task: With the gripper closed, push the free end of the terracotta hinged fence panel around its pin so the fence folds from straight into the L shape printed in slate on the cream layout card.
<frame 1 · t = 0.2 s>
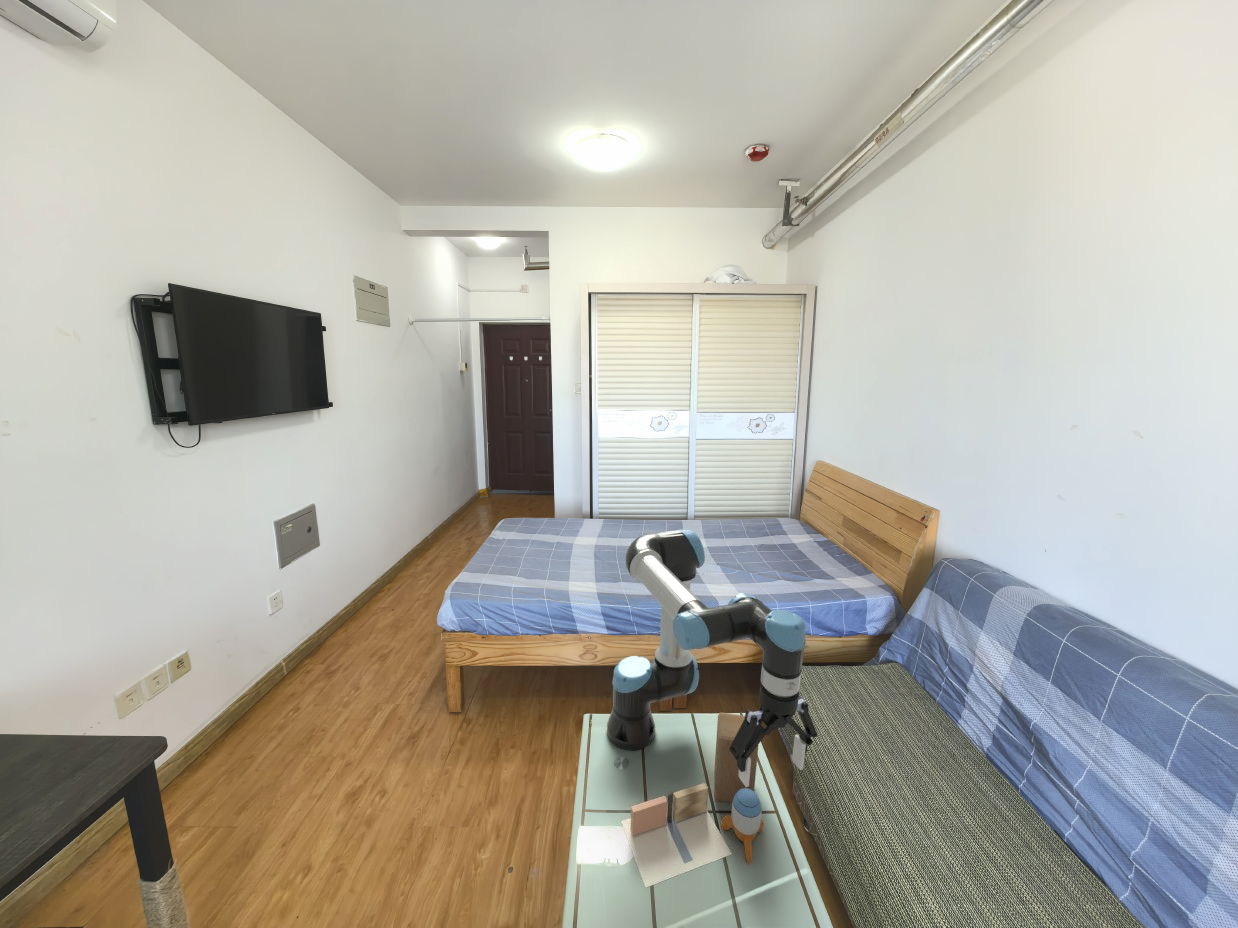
hand: (771, 772, 99), 28 cm above the table, fingers open, 13 cm apart
layout card: (674, 838, 112), on the table
wooden block: (732, 790, 126), on the table
fixed fence panel: (669, 822, 116), resting on layout card
hinged fence panel: (648, 815, 114), point 4 cm above the table, hinge at 0.0°
toy rocket: (748, 840, 113), on the table
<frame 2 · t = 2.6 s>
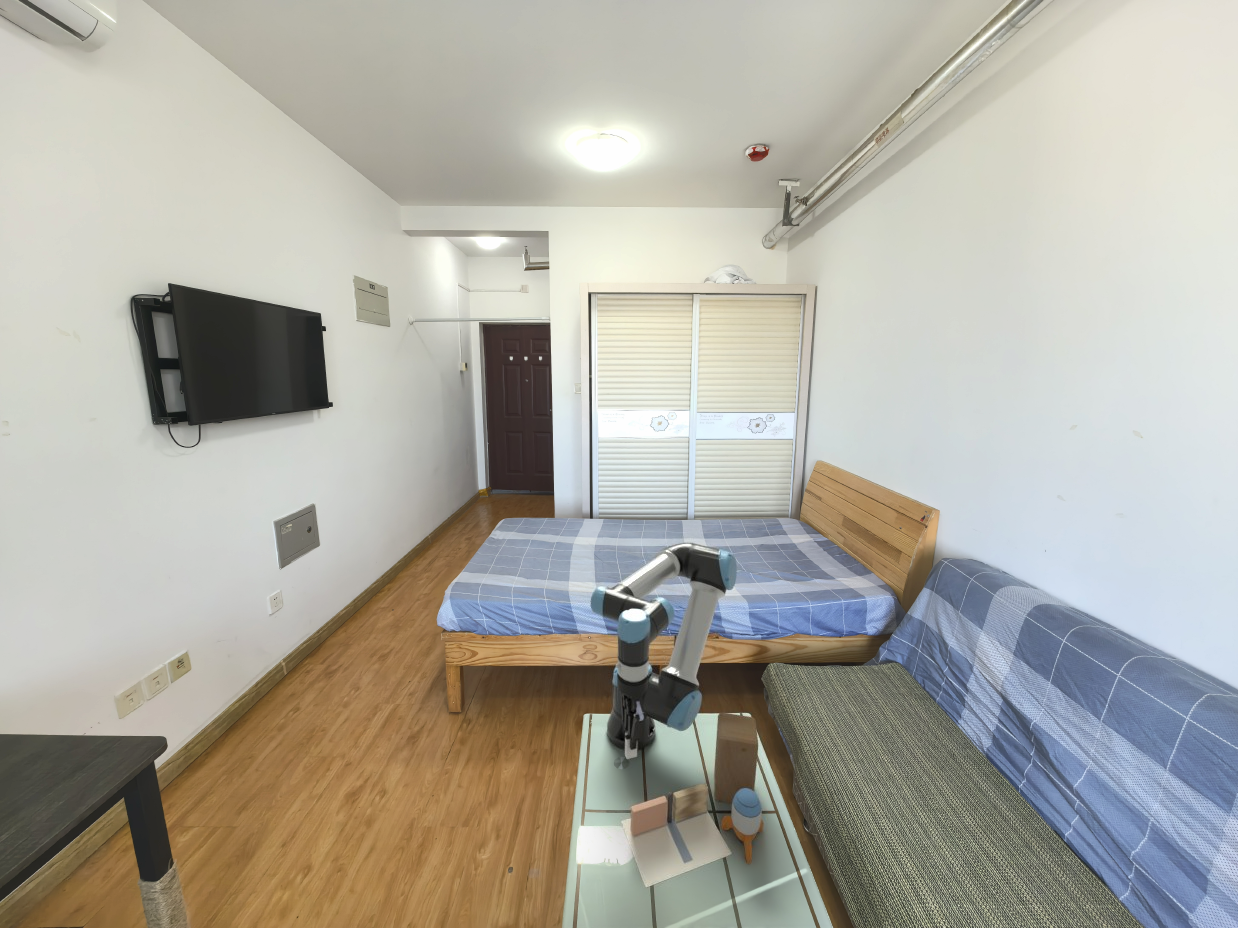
hand: (630, 755, 117), 16 cm above the table, fingers closed
nothing on the table moved.
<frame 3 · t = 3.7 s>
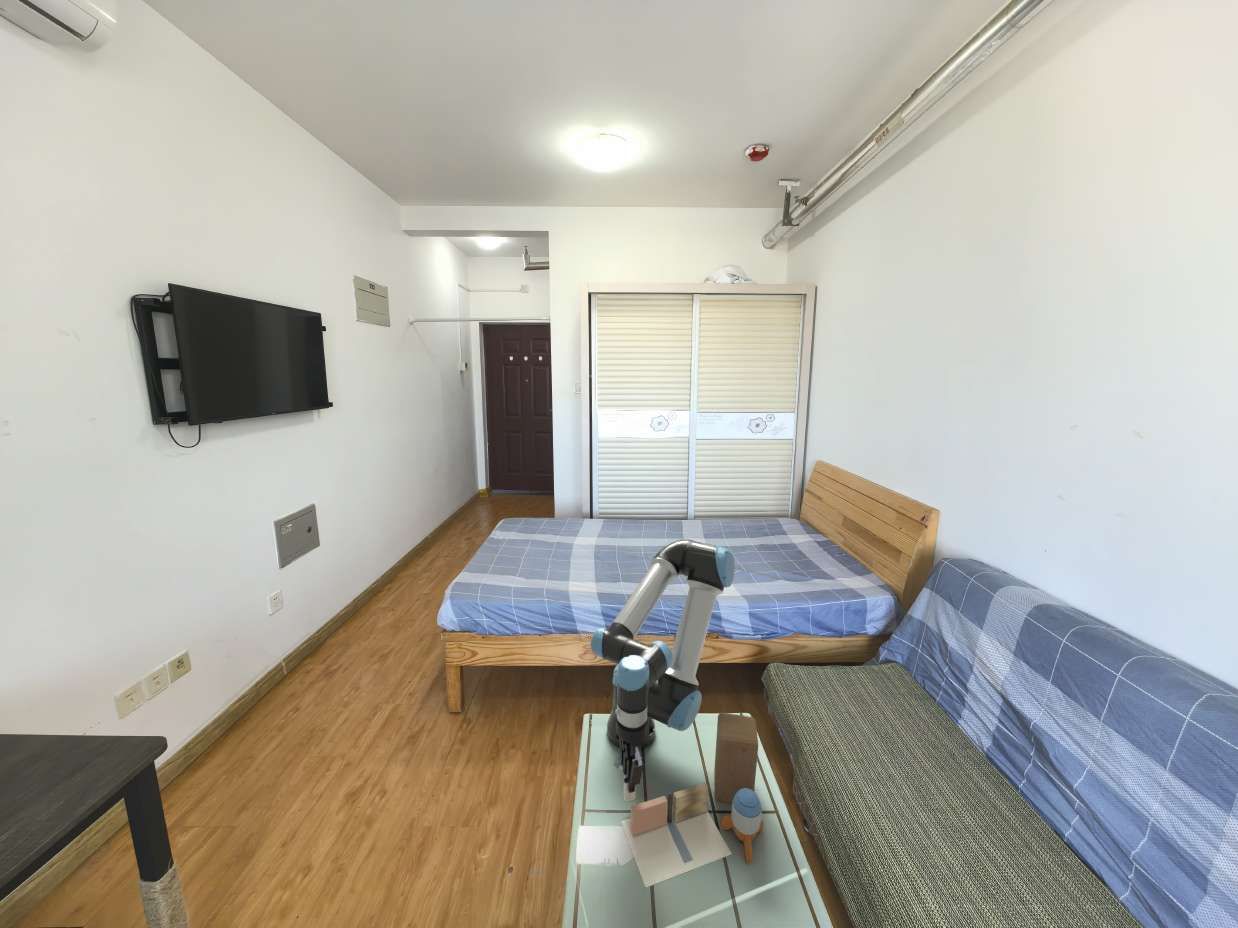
hand: (629, 797, 119), 4 cm above the table, fingers closed
nothing on the table moved.
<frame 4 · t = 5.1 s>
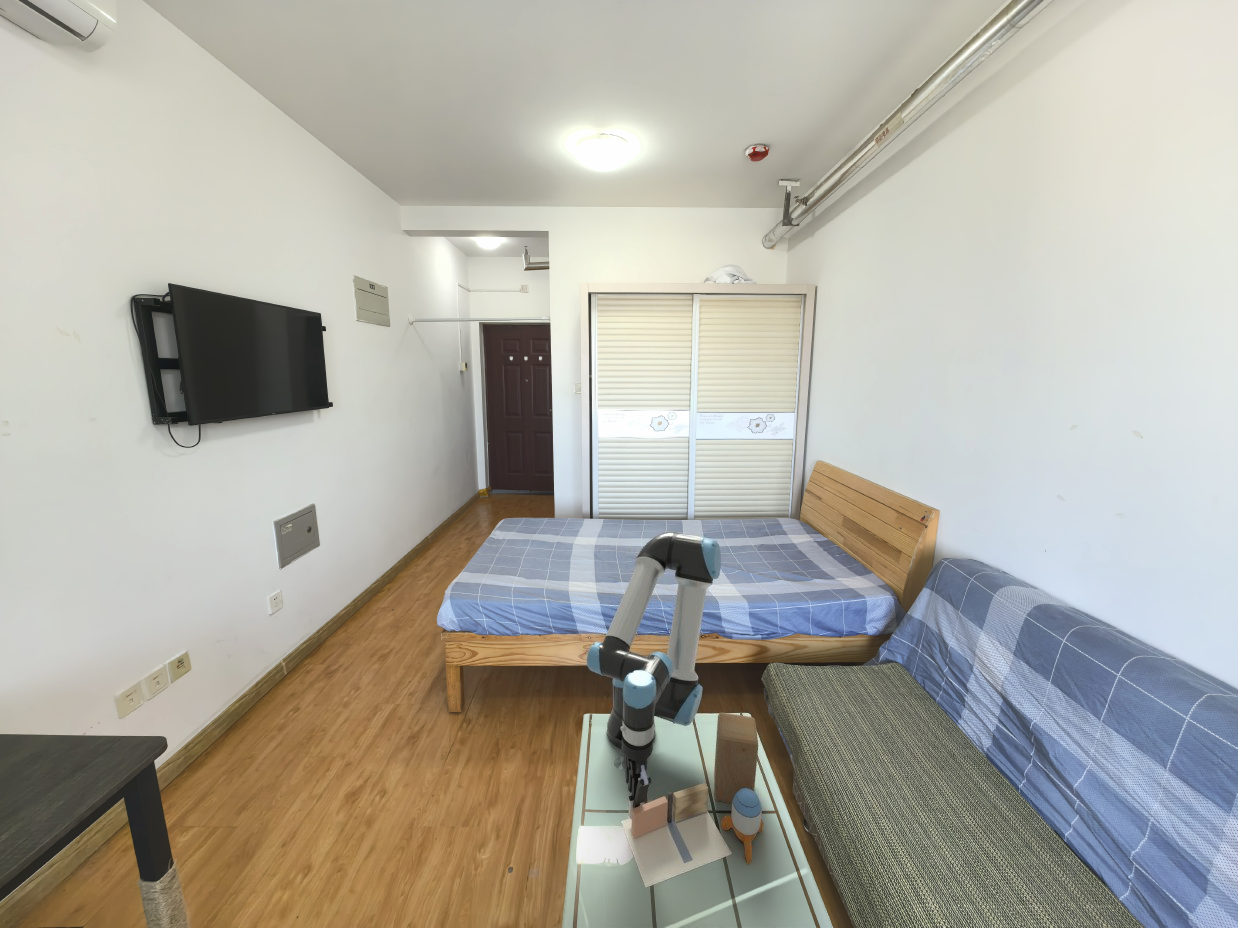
hand: (634, 815, 116), 3 cm above the table, fingers closed
hinged fence panel: (649, 816, 113), point 4 cm above the table, hinge at 4.2°, touching gripper
everything else where it was.
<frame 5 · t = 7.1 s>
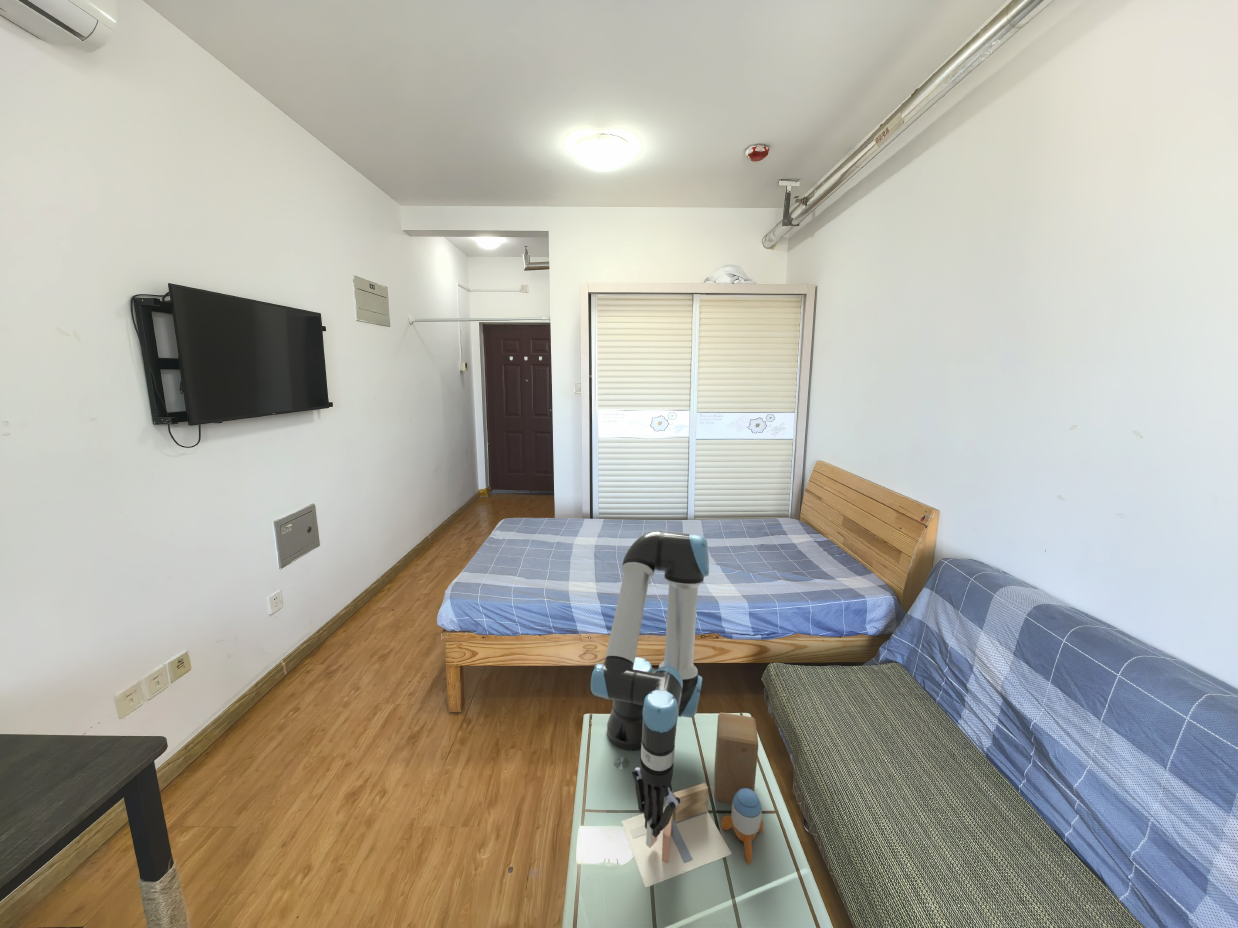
hand: (651, 842, 109), 2 cm above the table, fingers closed
hinged fence panel: (667, 830, 110), point 4 cm above the table, hinge at 59.0°, touching gripper
everything else where it was.
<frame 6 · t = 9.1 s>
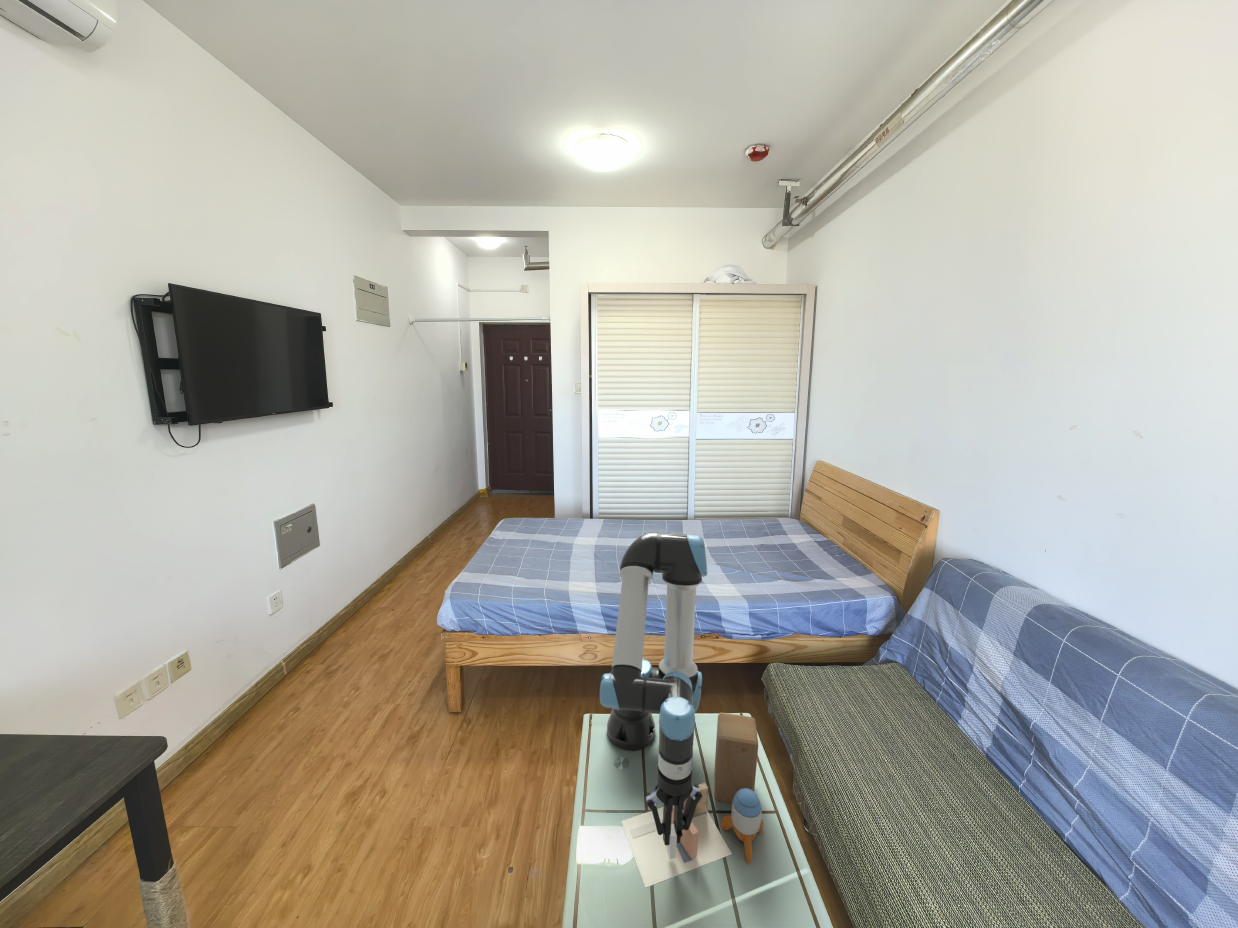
hand: (670, 852, 107), 2 cm above the table, fingers closed
hinged fence panel: (683, 828, 110), point 4 cm above the table, hinge at 98.6°
everything else where it was.
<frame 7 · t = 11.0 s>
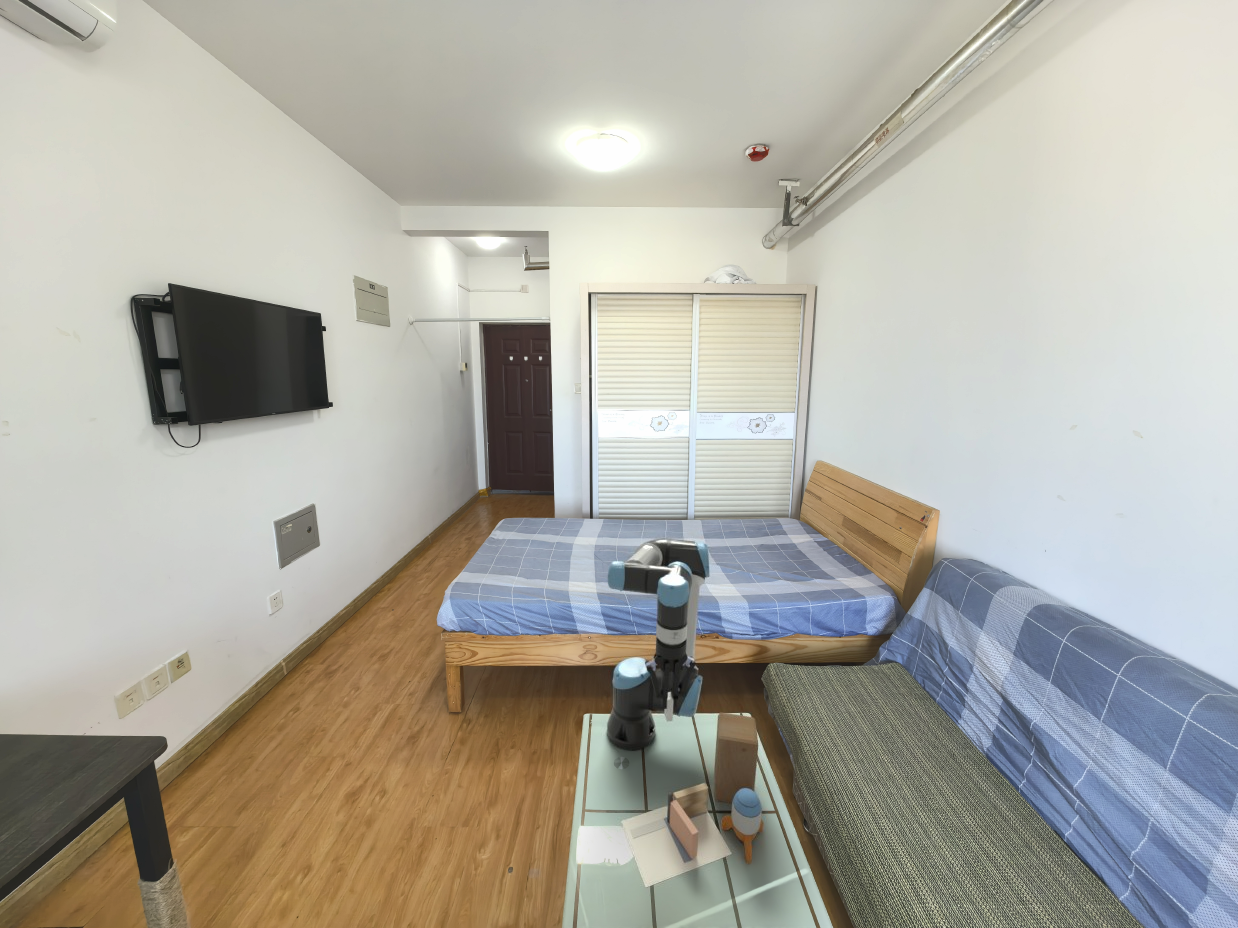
hand: (668, 717, 120), 24 cm above the table, fingers closed
nothing on the table moved.
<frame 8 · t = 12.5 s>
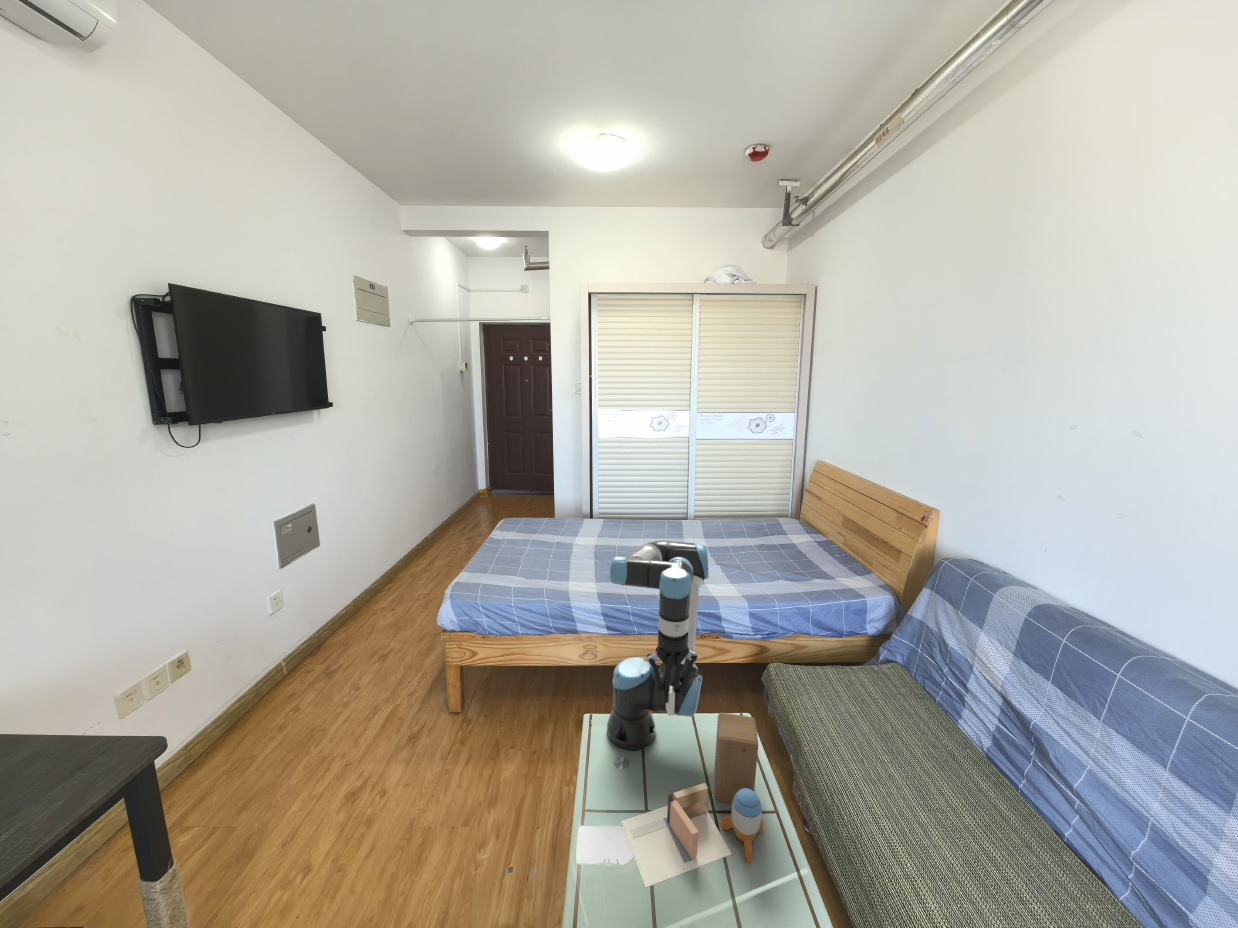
hand: (669, 711, 121), 24 cm above the table, fingers closed
nothing on the table moved.
at the end: hinged fence panel at +99° (first picture: +0°); hinged fence panel touching nothing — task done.
